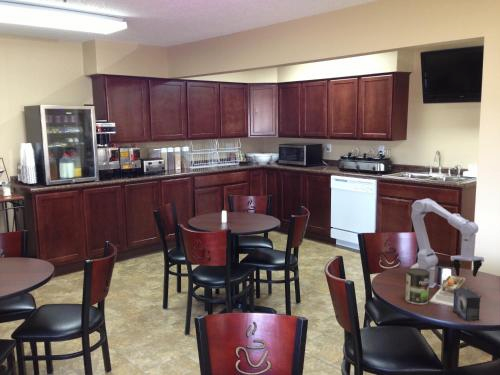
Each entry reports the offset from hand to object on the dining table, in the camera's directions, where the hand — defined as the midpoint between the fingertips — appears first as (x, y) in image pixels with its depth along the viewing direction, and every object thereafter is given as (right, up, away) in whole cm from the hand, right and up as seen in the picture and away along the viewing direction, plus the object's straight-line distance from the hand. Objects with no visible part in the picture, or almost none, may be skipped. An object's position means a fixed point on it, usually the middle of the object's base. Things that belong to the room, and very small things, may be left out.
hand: (465, 275), depth 219 cm
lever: (-4, -8, +3) cm, 10 cm away
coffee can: (-25, -11, -4) cm, 27 cm away
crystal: (-7, -5, +37) cm, 38 cm away
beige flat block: (-10, -11, -4) cm, 15 cm away
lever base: (-7, -10, 0) cm, 12 cm away
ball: (-8, -3, -3) cm, 9 cm away
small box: (-10, -14, -20) cm, 26 cm away
